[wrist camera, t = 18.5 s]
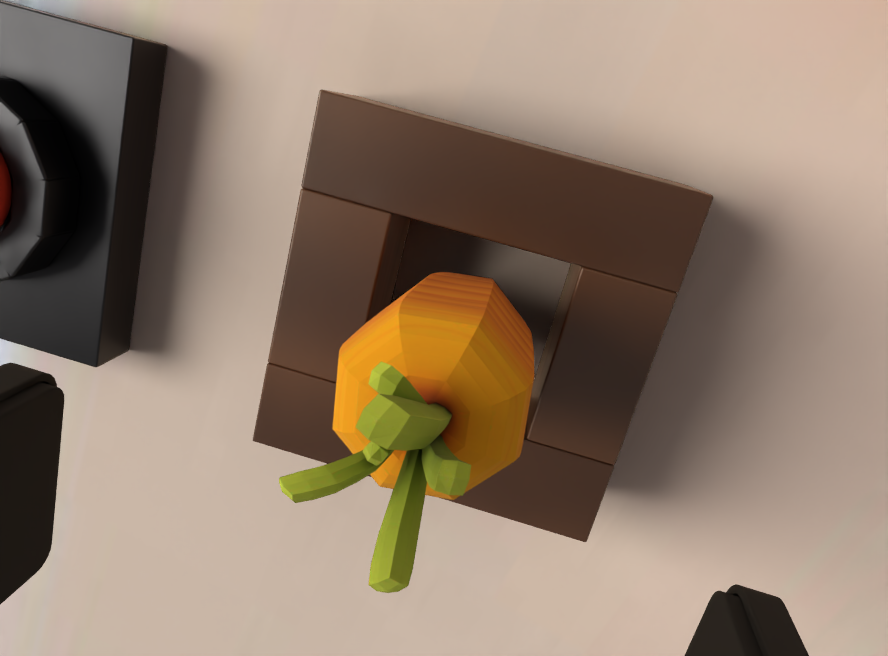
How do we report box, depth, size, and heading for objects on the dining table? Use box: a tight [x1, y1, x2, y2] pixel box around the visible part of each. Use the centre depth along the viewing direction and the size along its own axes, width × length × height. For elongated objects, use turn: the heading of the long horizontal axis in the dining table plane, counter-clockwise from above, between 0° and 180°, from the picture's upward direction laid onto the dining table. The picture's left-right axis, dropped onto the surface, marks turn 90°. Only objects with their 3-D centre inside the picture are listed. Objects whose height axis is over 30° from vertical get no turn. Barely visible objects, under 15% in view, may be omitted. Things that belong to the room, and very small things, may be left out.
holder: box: [253, 90, 713, 542], centre depth 24 cm, size 12×12×4 cm
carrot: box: [279, 272, 534, 593], centre depth 19 cm, size 5×5×15 cm
